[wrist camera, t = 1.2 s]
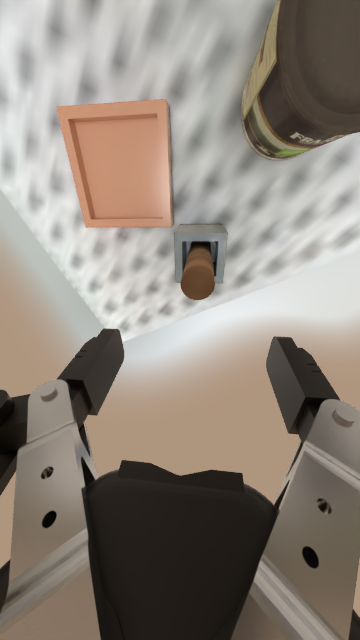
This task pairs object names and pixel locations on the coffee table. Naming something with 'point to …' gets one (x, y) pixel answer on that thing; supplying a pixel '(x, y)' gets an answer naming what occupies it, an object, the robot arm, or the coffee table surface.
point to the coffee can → (304, 78)
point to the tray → (121, 162)
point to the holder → (200, 233)
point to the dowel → (198, 271)
